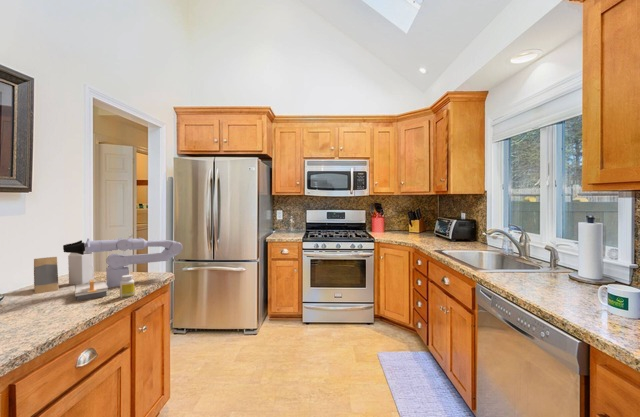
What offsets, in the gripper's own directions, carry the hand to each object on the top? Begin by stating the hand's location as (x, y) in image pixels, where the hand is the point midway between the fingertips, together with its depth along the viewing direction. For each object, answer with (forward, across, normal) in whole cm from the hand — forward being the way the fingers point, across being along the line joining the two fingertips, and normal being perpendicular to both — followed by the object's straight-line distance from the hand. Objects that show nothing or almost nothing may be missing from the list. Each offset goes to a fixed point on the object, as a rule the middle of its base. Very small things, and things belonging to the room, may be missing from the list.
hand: (63, 248), depth 131 cm
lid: (-9, +13, +18) cm, 24 cm away
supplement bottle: (-21, +26, +20) cm, 39 cm away
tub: (-9, +12, +21) cm, 26 cm away
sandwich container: (+6, -14, +22) cm, 27 cm away
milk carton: (-8, -18, +22) cm, 29 cm away
